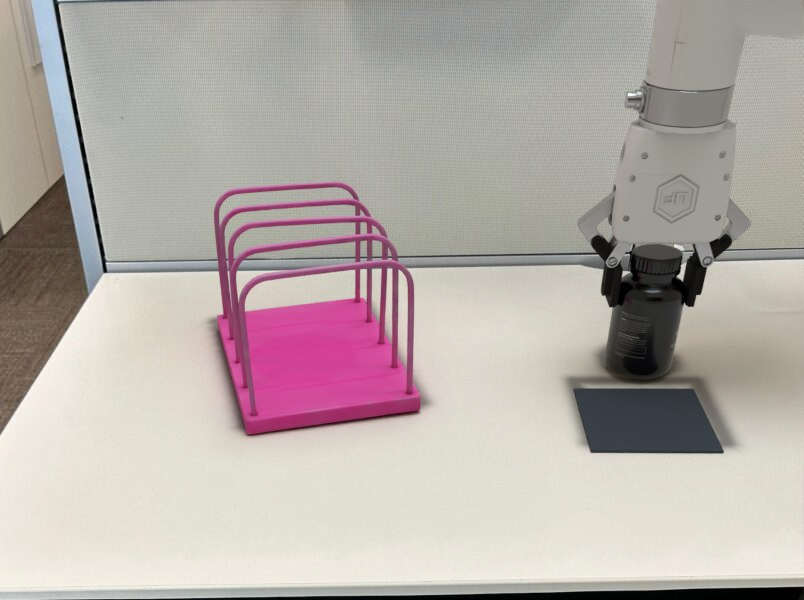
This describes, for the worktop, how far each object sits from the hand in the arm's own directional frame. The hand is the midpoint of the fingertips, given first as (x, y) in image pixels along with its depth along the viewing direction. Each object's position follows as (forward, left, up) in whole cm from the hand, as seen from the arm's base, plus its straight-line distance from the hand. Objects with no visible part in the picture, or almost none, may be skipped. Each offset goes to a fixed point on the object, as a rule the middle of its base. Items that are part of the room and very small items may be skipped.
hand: (648, 300), depth 93 cm
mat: (+1, +11, -7) cm, 13 cm away
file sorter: (+34, 0, -8) cm, 35 cm away
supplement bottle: (0, 0, -7) cm, 7 cm away
